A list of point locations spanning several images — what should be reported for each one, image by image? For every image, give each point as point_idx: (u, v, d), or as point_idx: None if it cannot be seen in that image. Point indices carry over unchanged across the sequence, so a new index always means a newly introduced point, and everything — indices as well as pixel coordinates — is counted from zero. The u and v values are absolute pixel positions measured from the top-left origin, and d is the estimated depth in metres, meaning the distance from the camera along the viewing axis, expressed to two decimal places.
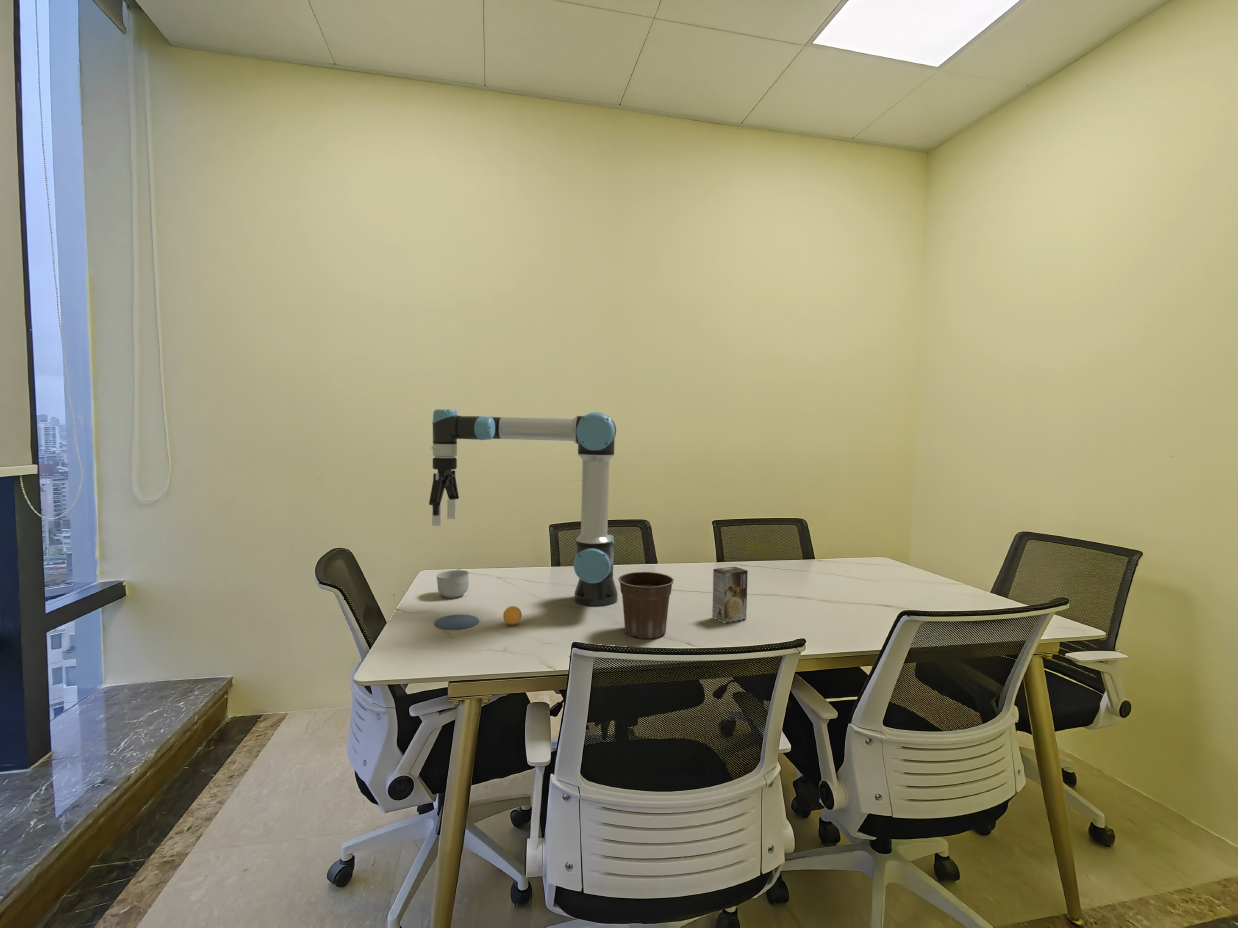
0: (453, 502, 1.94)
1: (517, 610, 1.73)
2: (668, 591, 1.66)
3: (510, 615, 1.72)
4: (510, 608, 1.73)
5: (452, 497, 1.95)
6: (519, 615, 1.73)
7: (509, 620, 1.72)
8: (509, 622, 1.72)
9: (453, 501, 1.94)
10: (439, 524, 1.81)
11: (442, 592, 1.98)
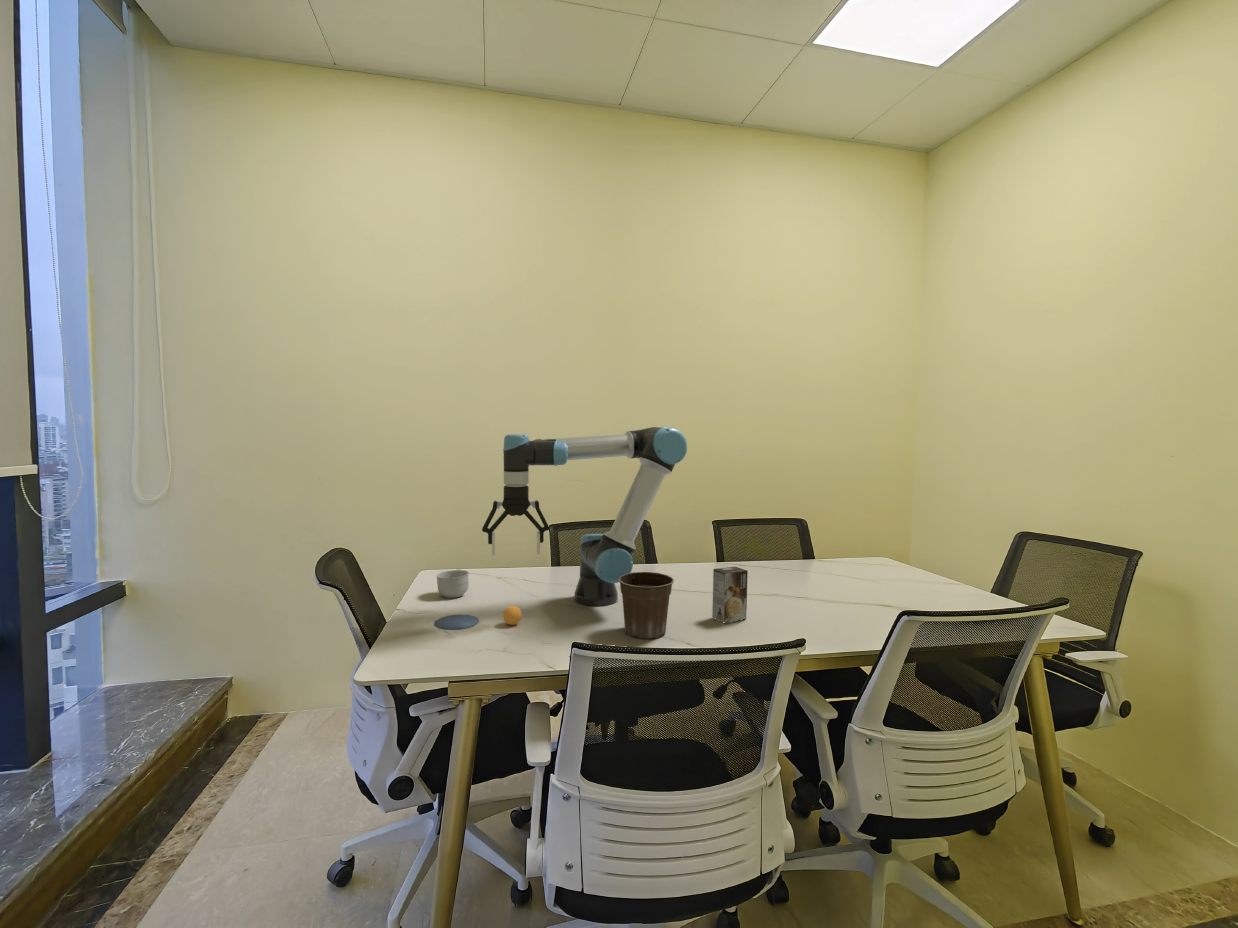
0: (537, 535, 1.77)
1: (517, 610, 1.73)
2: (668, 591, 1.66)
3: (510, 615, 1.72)
4: (510, 608, 1.73)
5: None
6: (519, 615, 1.73)
7: (509, 620, 1.72)
8: (509, 622, 1.72)
9: (537, 534, 1.77)
10: (492, 553, 1.75)
11: (442, 592, 1.98)
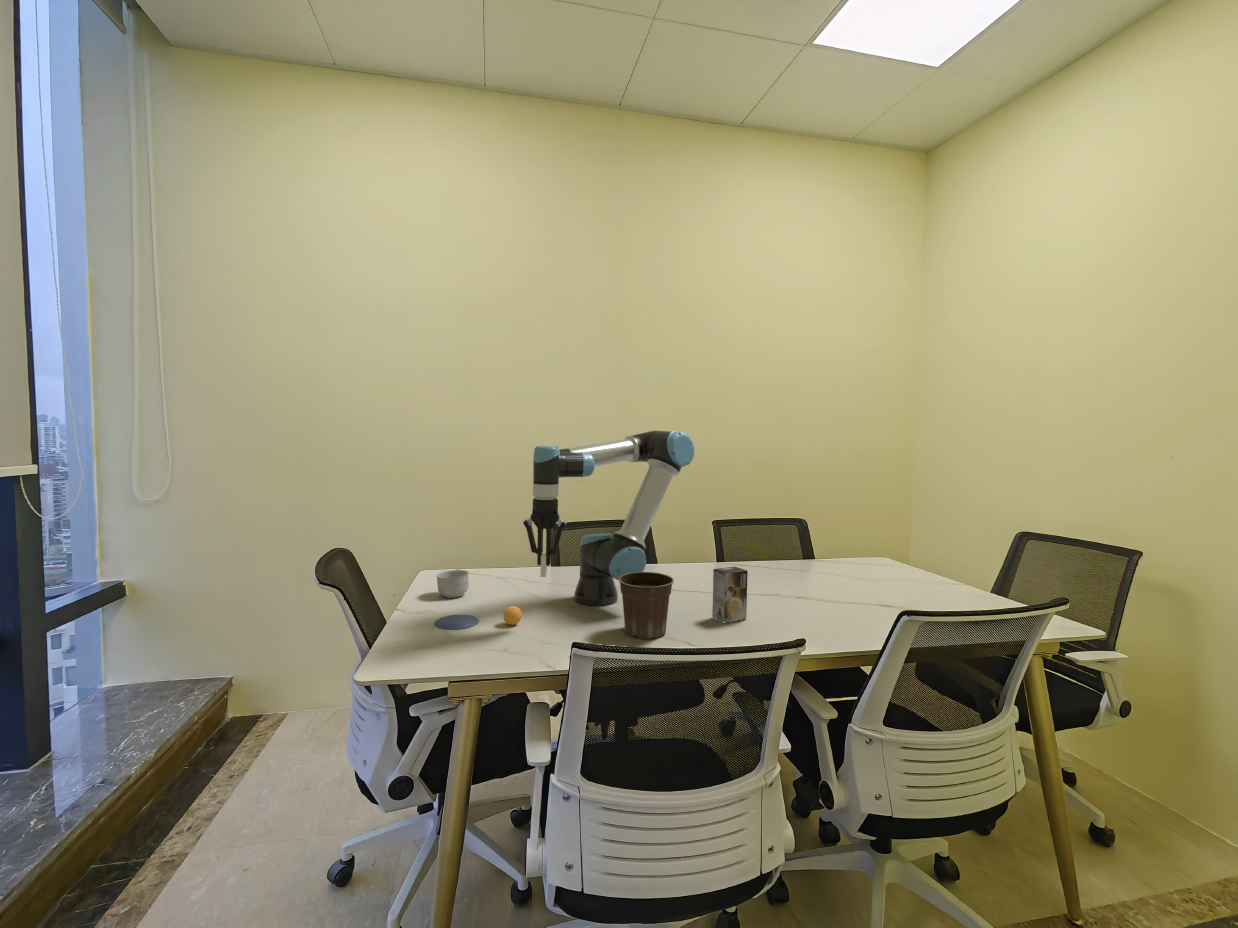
0: None
1: (517, 610, 1.73)
2: (668, 591, 1.66)
3: (510, 615, 1.72)
4: (510, 608, 1.73)
5: None
6: (519, 615, 1.73)
7: (509, 620, 1.72)
8: (509, 622, 1.72)
9: None
10: None
11: (442, 592, 1.98)
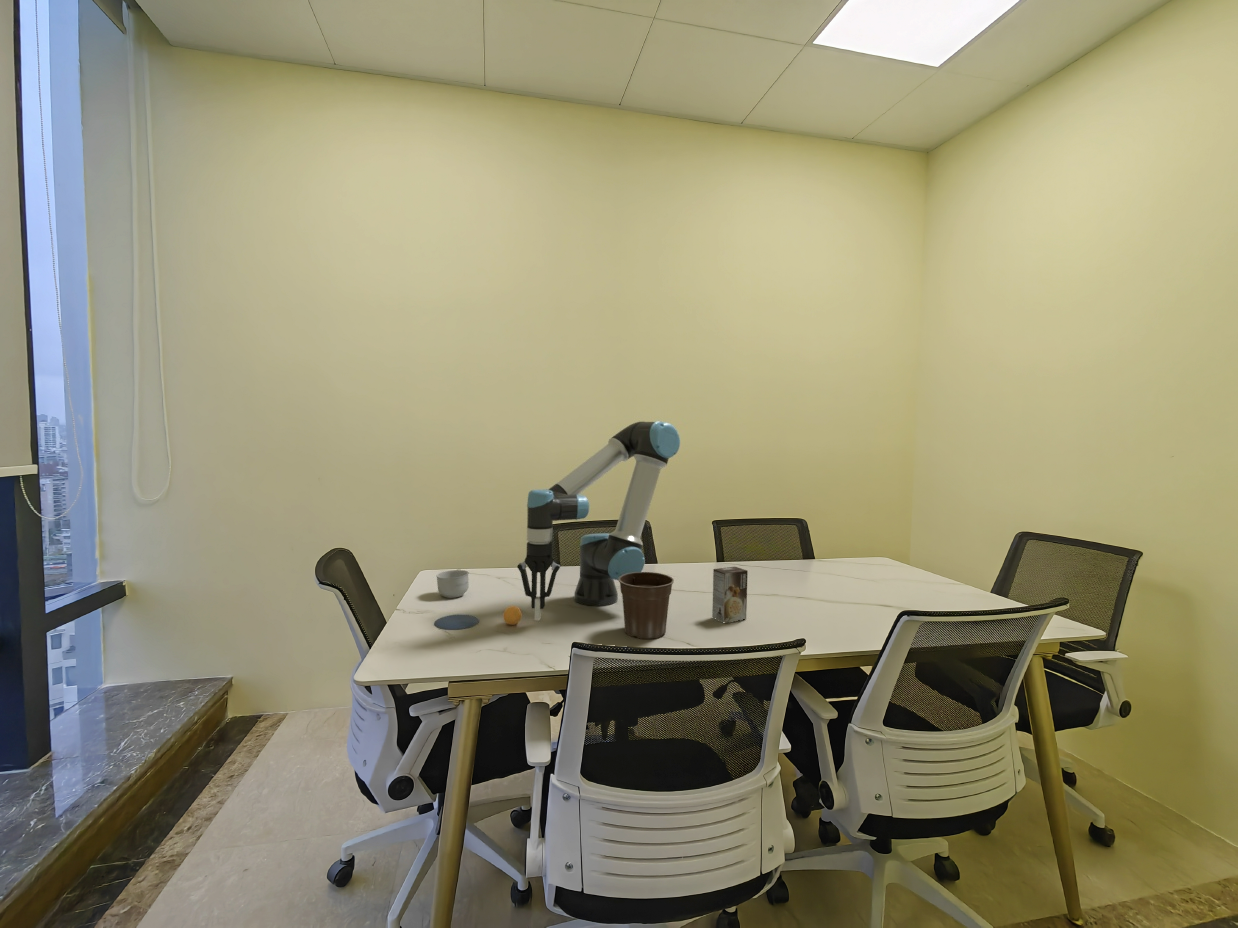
0: None
1: (517, 610, 1.73)
2: (668, 591, 1.66)
3: (510, 615, 1.72)
4: (510, 608, 1.73)
5: None
6: (519, 615, 1.73)
7: (509, 620, 1.72)
8: (509, 622, 1.72)
9: None
10: None
11: (442, 592, 1.98)
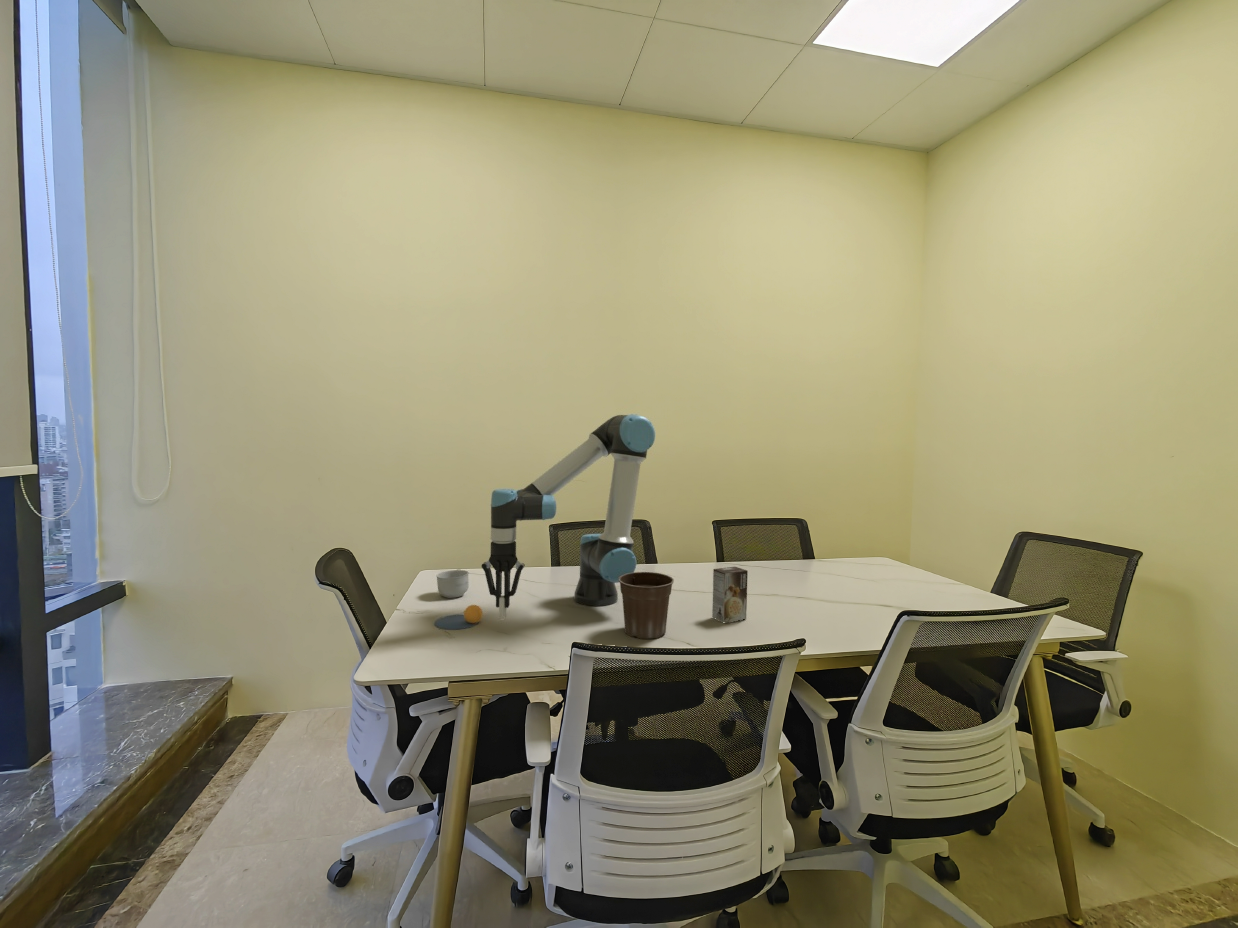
0: None
1: (474, 622, 1.74)
2: (668, 591, 1.66)
3: (472, 618, 1.72)
4: (479, 618, 1.74)
5: None
6: (469, 622, 1.74)
7: (469, 614, 1.72)
8: (467, 612, 1.72)
9: None
10: None
11: (442, 592, 1.98)
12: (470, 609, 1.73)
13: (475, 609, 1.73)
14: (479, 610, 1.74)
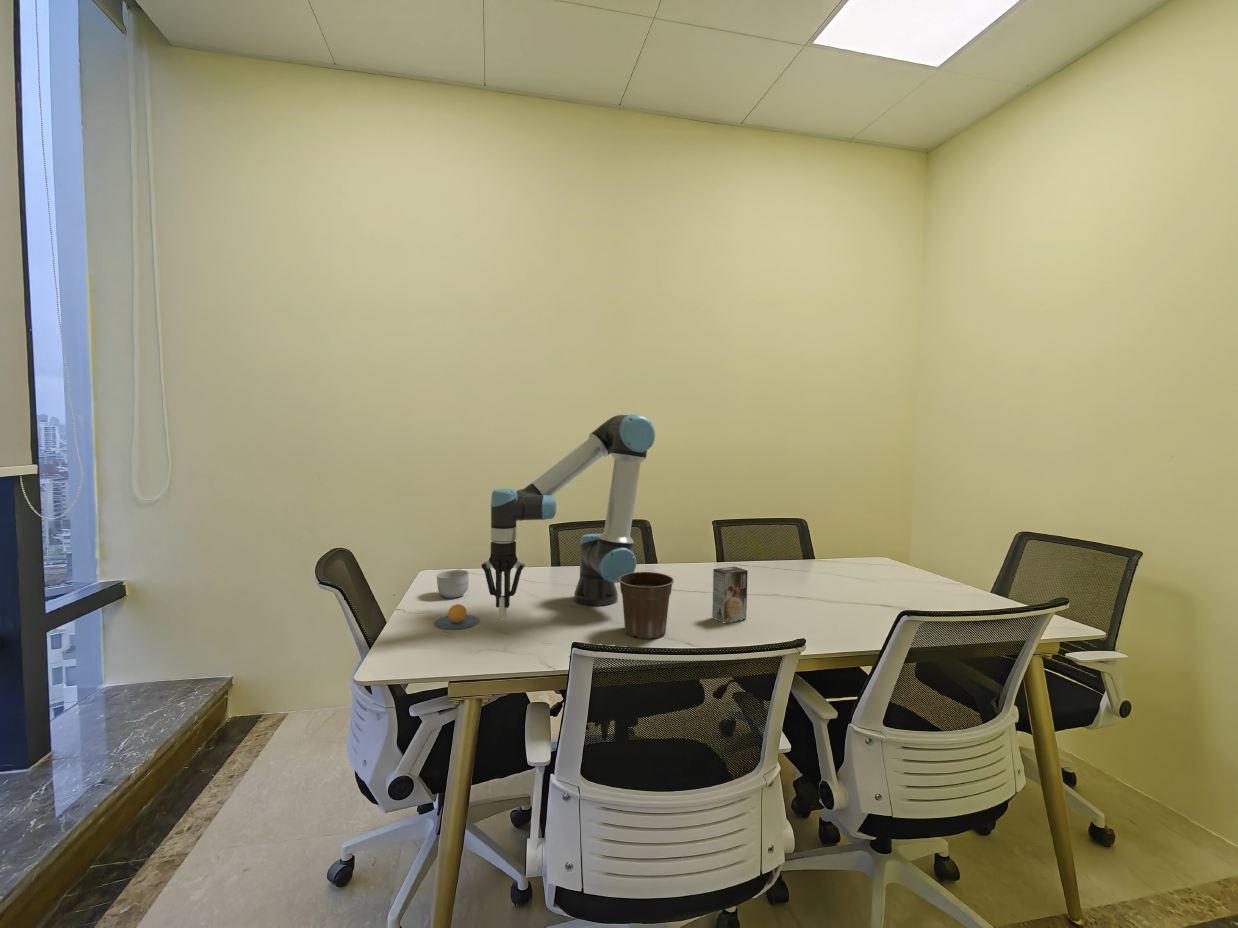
0: None
1: (463, 610, 1.74)
2: (668, 591, 1.66)
3: (455, 613, 1.72)
4: (457, 606, 1.74)
5: None
6: (464, 616, 1.74)
7: (452, 617, 1.72)
8: (452, 619, 1.73)
9: None
10: None
11: (442, 592, 1.98)
12: (449, 617, 1.73)
13: (448, 612, 1.73)
14: (450, 608, 1.74)
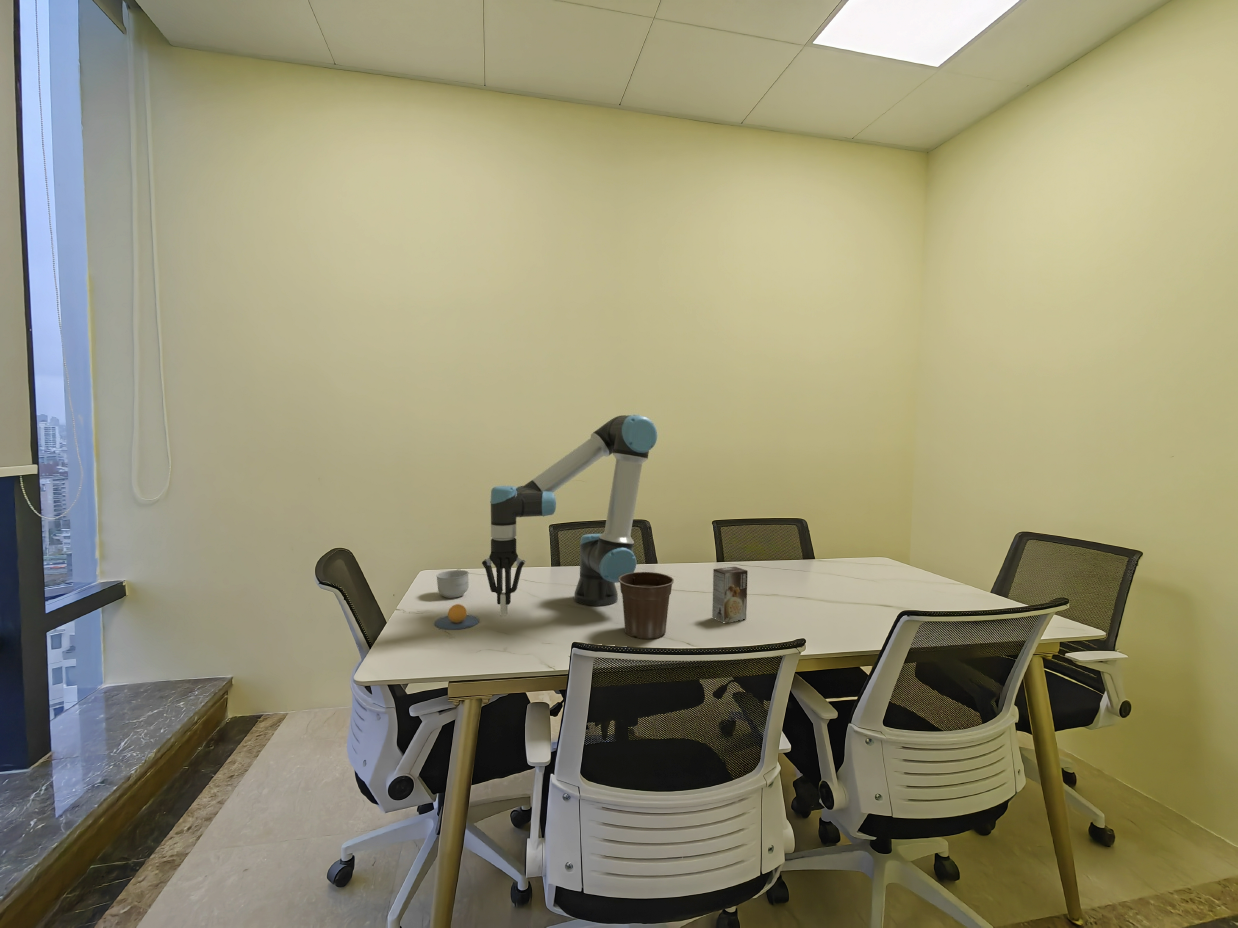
0: None
1: (463, 610, 1.74)
2: (668, 591, 1.66)
3: (455, 613, 1.72)
4: (457, 606, 1.74)
5: None
6: (464, 616, 1.74)
7: (452, 617, 1.72)
8: (452, 619, 1.73)
9: None
10: None
11: (442, 592, 1.98)
12: (449, 617, 1.73)
13: (448, 612, 1.73)
14: (450, 608, 1.74)
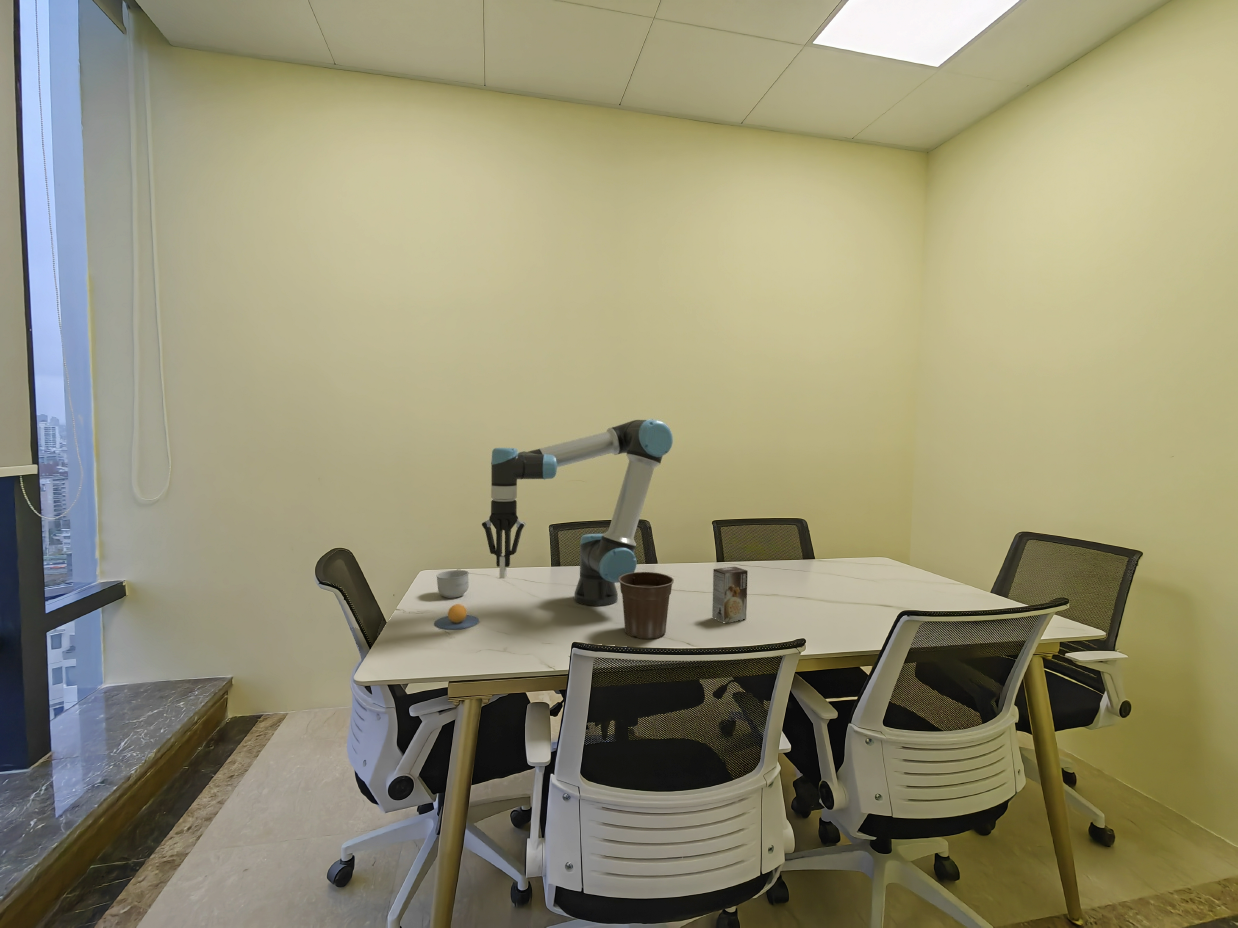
0: None
1: (463, 610, 1.74)
2: (668, 591, 1.66)
3: (455, 613, 1.72)
4: (457, 606, 1.74)
5: None
6: (464, 616, 1.74)
7: (452, 617, 1.72)
8: (452, 619, 1.73)
9: None
10: None
11: (442, 592, 1.98)
12: (449, 617, 1.73)
13: (448, 612, 1.73)
14: (450, 608, 1.74)
